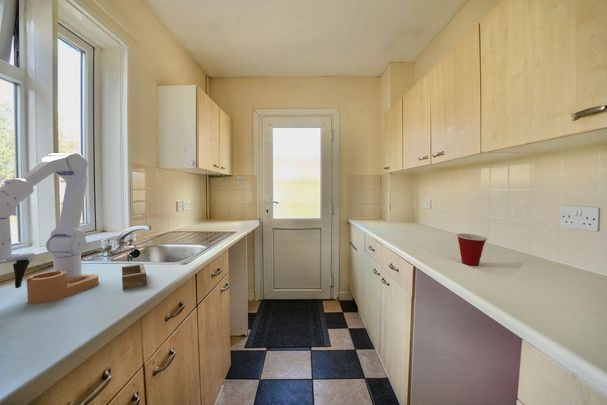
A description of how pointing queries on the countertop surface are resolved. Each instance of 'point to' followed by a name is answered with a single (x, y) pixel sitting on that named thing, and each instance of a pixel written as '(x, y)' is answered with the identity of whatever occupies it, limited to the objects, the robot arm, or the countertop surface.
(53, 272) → the bracket
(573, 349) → the countertop surface
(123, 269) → the jig
